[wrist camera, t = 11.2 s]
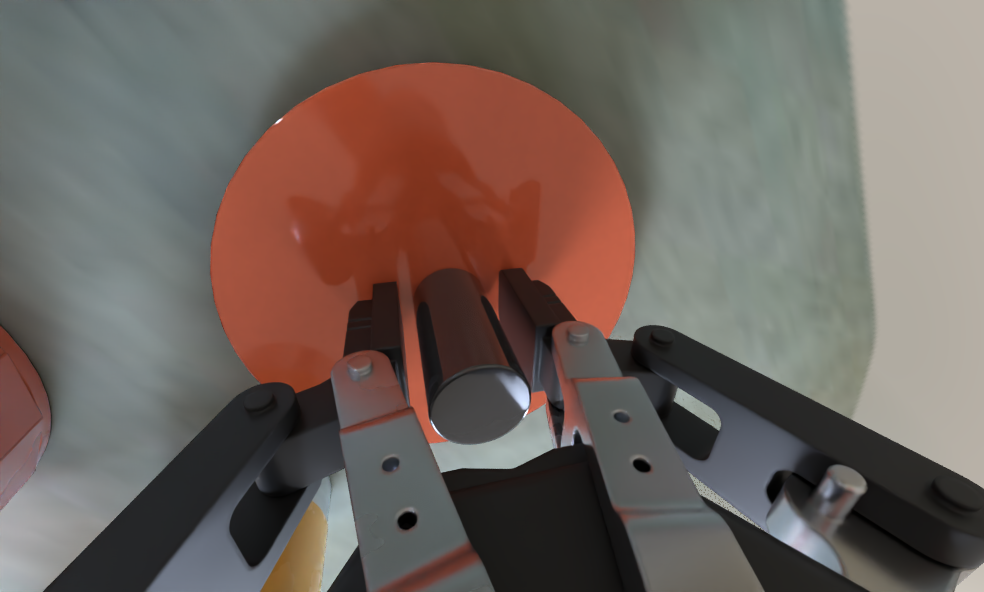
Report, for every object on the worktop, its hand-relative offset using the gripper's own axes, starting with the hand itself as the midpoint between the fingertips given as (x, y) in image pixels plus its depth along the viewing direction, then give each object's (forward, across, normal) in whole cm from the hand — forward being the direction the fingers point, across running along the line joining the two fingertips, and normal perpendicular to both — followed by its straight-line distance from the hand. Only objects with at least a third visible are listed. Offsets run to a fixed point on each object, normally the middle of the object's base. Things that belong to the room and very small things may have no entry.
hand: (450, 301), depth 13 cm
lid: (+1, 0, 0) cm, 1 cm away
